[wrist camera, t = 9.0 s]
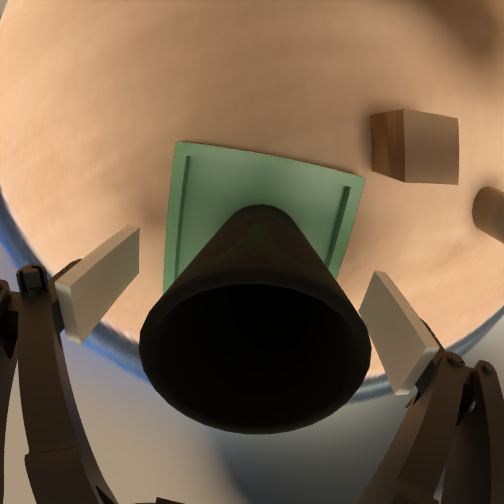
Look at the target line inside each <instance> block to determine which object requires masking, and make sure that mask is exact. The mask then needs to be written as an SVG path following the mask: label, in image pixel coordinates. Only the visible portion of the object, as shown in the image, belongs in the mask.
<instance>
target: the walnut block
mask: <svg viewBox="0 0 504 504" xmlns="http://www.w3.org/2000/svg"><path fill="white" fill-rule="evenodd" d="M370 116H371V132H372V161H373V172H376V173H379V174H382V175H385V176H388V177H391V178H394V179H397V180H399V181H402V182H405V183H434V184H453V185H458V177H459V129H458V119H457V118H452V117H447V116H442V115H437V114H431V113H425V112H418V111H411V110H404V109H402V110H396V111H390V112H384V113H379V114H373V115H370Z"/></svg>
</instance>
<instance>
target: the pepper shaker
mask: <svg viewBox="0 0 504 504" xmlns="http://www.w3.org/2000/svg"><path fill="white" fill-rule="evenodd" d="M472 215H473V221H474V223H475V225H476V227H477V228H478V229H480V230H481V231H483V232H485V233H487V234H488V235H490V236H492V237H493V238H495V239H497V240H498V241H500V242H502V243H503V244H504V192H502V191H500V190H497V189H494V188H491V187H485V188H483V189H481V190H480V191H479V193H478V194H477V196H476V198H475V200H474V204H473V210H472Z"/></svg>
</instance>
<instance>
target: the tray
mask: <svg viewBox="0 0 504 504" xmlns="http://www.w3.org/2000/svg"><path fill="white" fill-rule="evenodd" d="M364 181H365V178H364V177H361V176H359V175H356V174H352V173H348V172H345V171H341V170H337V169H333V168H329V167H325V166H321V165H316V164H312V163H308V162H303V161H299V160H294V159H290V158H285V157H280V156H275V155H270V154H264V153H259V152H253V151H247V150H241V149H235V148H229V147H222V146H215V145H208V144H200V143H192V142H176V146H175V153H174V160H173V168H172V176H171V185H170V195H169V205H168V216H167V228H166V242H165V259H164V283H163V294H164V293H165V292H166V291H167V290H168V288H169V287H170V286H171V285H172V284H173V282H174V281H175V280H176V279H177V278H178V276H179V275H180V274H181V273H182V272H183V270H184V269H185V268H186V267H187V266H188V265H189V263H190V262H191V261H192V260H193V259H194V258H195V256H196V255H197V254H198V253H199V252H200V251H201V249H202V248H203V247H204V246H205V245H206V244H207V243H208V241H209V240H210V239H211V238H212V237H213V236H214V235H215V233H216V232H217V231H218V230H219V229H220V228H221V227H222V225H223V224H224V223H225V222H226V221H227V220H228V219H229V218H230V217H231V216H232V215H233V214H234V213H235V212H237V211H238V210H240V209H242V208H244V207H247V206H250V205H257V204H265V205H270V206H274V207H276V208H279V209H281V210H283V211H284V212H285V213H287V214H288V215H289V216H290V217H291V218H292V219H293V221H294V222H295V223H296V225H297V226H298V227H299V229H300V230H301V232H302V233H303V234H304V236H305V237H306V238H307V240H308V241H309V243H310V244H311V245H312V247H313V248H314V250H315V251H316V252H317V254H318V255H319V257H320V258H321V260H322V261H323V262H324V264H325V265H326V267H327V268H328V270H329V271H330V272H331V274H332V275H333V277H334V278H335V280H336V278H337V275H338V272H339V269H340V266H341V263H342V260H343V257H344V253H345V250H346V247H347V244H348V240H349V237H350V233H351V230H352V226H353V223H354V219H355V216H356V212H357V208H358V205H359V201H360V197H361V193H362V189H363V185H364Z"/></svg>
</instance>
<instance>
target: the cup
mask: <svg viewBox="0 0 504 504" xmlns="http://www.w3.org/2000/svg"><path fill="white" fill-rule="evenodd" d="M371 350H372V347H371V342H370V338H369V334H368V330H367V326H366V325H365V323H364V322H363V320H362V319H361V317H360V316H359V314H358V313H357V311H356V310H355V308H354V307H353V305H352V303H351V302H350V300H349V299H348V297H347V296H346V295H345V293H344V292H343V290H342V289H341V287H340V286H339V284H338V283H337V281H336V280H335V278H334V277H333V275H332V274H331V272H330V271H329V270H328V268H327V267H326V265H325V264H324V262H323V261H322V260H321V258H320V257H319V255H318V254H317V252H316V251H315V250H314V248H313V247H312V245H311V244H310V243H309V241H308V240H307V238H306V237H305V236H304V234H303V233H302V232H301V230H300V229H299V227H298V226H297V225H296V223H295V222H294V221H293V219H292V218H291V217H290V216H289V215H288V214H287V213H285V212H284V211H283V210H281V209H279V208H276V207H274V206H270V205H265V204H257V205H250V206H247V207H244V208H242V209H240V210H238V211H237V212H235V213H234V214H233V215H232V216H231V217H230V218H229V219H228V220H227V221H226V222H225V223H224V224H223V225H222V227H221V228H220V229H219V230H218V231H217V232H216V233H215V235H214V236H213V237H212V238H211V239H210V240H209V241H208V243H207V244H206V245H205V246H204V247H203V248H202V249H201V251H200V252H199V253H198V254H197V255H196V256H195V258H194V259H193V260H192V261H191V262H190V263H189V265H188V266H187V267H186V268H185V269H184V270H183V272H182V273H181V274H180V275H179V276H178V278H177V279H176V280H175V281H174V282H173V284H172V285H171V286H170V287H169V288H168V290H167V291H166V292H165V293H164V294H163V296H162V297H161V298H160V299H159V300H158V302H157V303H156V304H155V305H154V306H153V308H152V309H151V310H150V311H149V313H148V316H147V318H146V320H145V322H144V324H143V326H142V329H141V331H140V341H139V354H140V358H141V362H142V366H143V370H144V372H145V373H146V375H147V377H148V379H149V380H150V382H151V384H152V385H153V387H154V389H155V390H156V391H157V392H158V393H159V394H160V395H161V396H162V397H163V398H164V399H165V400H166V402H168V404H170V405H171V406H173V407H174V408H175V409H177V410H178V411H180V412H181V413H182V414H184V415H185V416H187V417H189V418H191V419H193V420H195V421H197V422H200V423H202V424H204V425H207V426H210V427H213V428H216V429H220V430H224V431H228V432H234V433H241V434H275V433H282V432H288V431H293V430H296V429H299V428H303V427H306V426H309V425H312V424H314V423H316V422H318V421H320V420H322V419H324V418H326V417H328V416H330V415H331V414H333V413H334V412H335V411H337V410H338V409H339V408H341V407H342V406H343V405H344V404H346V403H347V402H348V401H349V399H350V398H351V397H352V396H353V395H354V393H355V392H356V391H357V390H358V389H359V387H360V386H361V385H362V383H363V380H364V378H365V376H366V374H367V372H368V369H369V367H370V359H371Z"/></svg>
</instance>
